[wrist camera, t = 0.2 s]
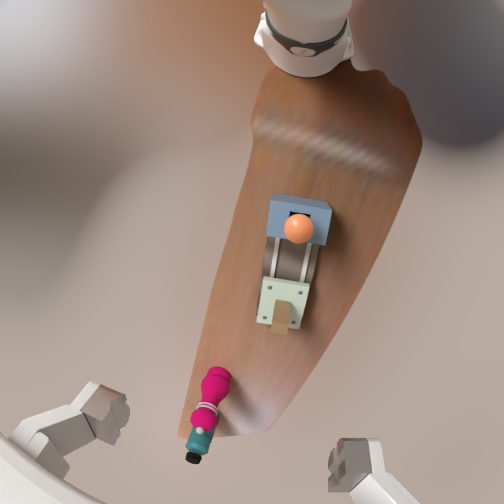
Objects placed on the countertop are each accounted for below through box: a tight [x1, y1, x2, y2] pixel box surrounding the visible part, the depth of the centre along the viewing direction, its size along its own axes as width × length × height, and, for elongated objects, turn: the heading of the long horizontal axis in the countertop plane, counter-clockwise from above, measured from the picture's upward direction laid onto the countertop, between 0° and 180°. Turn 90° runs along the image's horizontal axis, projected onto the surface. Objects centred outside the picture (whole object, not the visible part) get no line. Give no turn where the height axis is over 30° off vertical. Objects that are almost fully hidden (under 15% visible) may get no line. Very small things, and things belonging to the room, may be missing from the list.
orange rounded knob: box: [284, 214, 314, 244], centre depth 45 cm, size 4×4×5 cm
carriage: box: [257, 276, 309, 335], centre depth 53 cm, size 10×9×10 cm
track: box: [256, 236, 320, 324], centre depth 57 cm, size 20×10×2 cm, turn 173°
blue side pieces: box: [266, 193, 332, 245], centre depth 50 cm, size 6×10×8 cm, turn 83°
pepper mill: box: [191, 367, 231, 434], centre depth 61 cm, size 7×7×20 cm
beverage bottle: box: [186, 413, 219, 464], centre depth 67 cm, size 6×7×20 cm
